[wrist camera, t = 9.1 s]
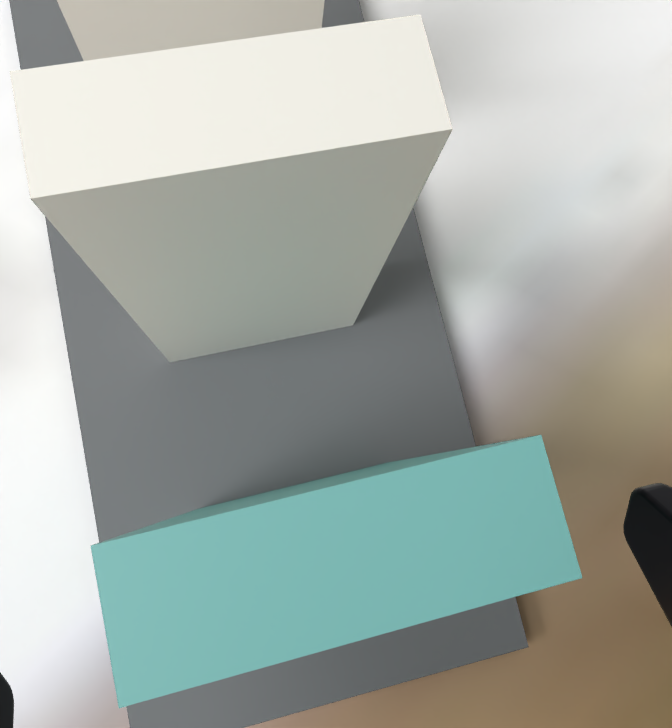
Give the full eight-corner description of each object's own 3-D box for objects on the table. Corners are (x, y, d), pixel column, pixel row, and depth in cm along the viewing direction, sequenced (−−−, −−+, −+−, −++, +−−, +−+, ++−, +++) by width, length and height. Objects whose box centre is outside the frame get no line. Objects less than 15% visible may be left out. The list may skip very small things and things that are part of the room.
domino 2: (352, 325, 18) (452, 128, 8) (169, 362, 17) (30, 198, 7) (339, 270, 18) (420, 14, 8) (159, 305, 17) (9, 71, 7)
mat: (521, 642, 17) (528, 646, 17) (139, 749, 16) (135, 758, 15) (263, -344, 22) (263, -362, 22) (-41, -326, 21) (-49, -346, 20)
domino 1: (309, 142, 19) (350, -239, 9) (133, 171, 18) (-36, -206, 8) (297, 93, 19) (323, -332, 9) (123, 119, 18) (-53, -308, 8)
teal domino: (402, 522, 17) (582, 577, 7) (211, 571, 16) (118, 709, 6) (387, 462, 17) (541, 434, 7) (199, 508, 16) (90, 546, 7)
